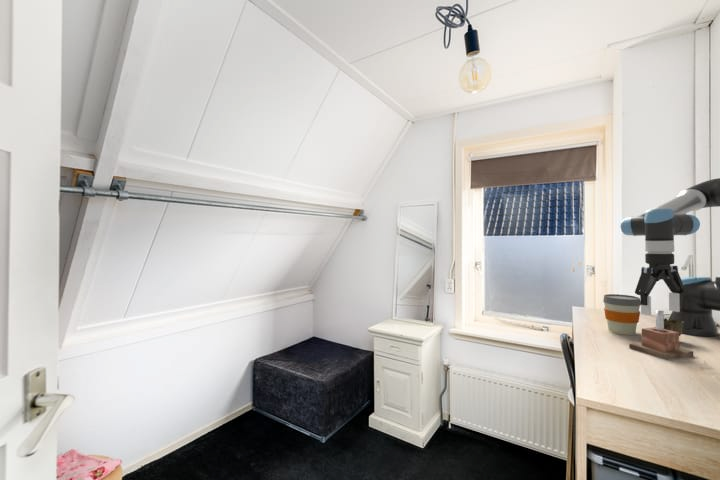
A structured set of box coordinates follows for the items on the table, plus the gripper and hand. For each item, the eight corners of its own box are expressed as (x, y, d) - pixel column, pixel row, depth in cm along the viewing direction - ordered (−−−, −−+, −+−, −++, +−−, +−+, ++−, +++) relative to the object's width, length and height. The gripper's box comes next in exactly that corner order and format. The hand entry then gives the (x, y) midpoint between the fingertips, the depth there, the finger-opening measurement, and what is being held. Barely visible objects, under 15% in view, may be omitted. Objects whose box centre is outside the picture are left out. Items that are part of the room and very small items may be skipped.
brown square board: (653, 344, 122) (653, 340, 122) (693, 356, 110) (693, 351, 110) (629, 348, 119) (629, 343, 119) (667, 359, 107) (667, 355, 107)
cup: (689, 343, 122) (689, 322, 122) (666, 342, 124) (666, 322, 124) (674, 337, 129) (674, 317, 129) (653, 336, 131) (652, 317, 131)
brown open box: (655, 343, 119) (655, 327, 118) (679, 349, 112) (678, 332, 112) (641, 345, 117) (641, 328, 117) (664, 351, 110) (664, 334, 110)
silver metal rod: (658, 346, 115) (658, 309, 115) (665, 348, 114) (665, 311, 113) (654, 346, 115) (654, 310, 115) (661, 348, 113) (660, 311, 113)
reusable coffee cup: (601, 331, 139) (600, 297, 138) (606, 325, 147) (605, 293, 147) (639, 338, 130) (639, 300, 130) (642, 331, 139) (642, 296, 138)
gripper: (672, 250, 121) (673, 307, 121) (621, 253, 115) (622, 313, 115) (697, 251, 113) (698, 312, 114) (644, 254, 107) (645, 318, 108)
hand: (660, 312), depth 114 cm, fingers open, 13 cm apart
